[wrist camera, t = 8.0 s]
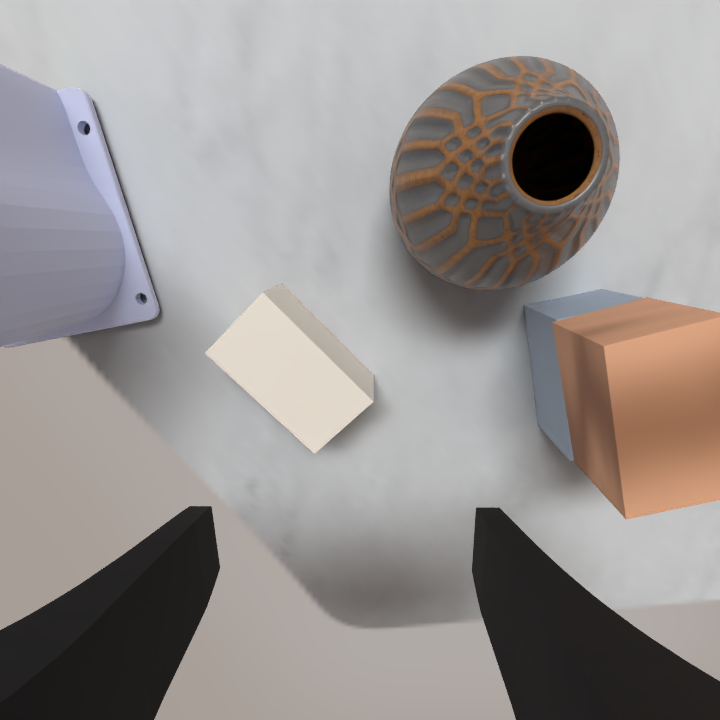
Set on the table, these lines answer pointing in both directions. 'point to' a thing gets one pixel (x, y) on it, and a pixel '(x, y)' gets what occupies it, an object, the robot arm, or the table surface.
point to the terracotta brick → (644, 402)
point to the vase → (504, 173)
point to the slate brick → (546, 358)
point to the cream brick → (294, 367)
